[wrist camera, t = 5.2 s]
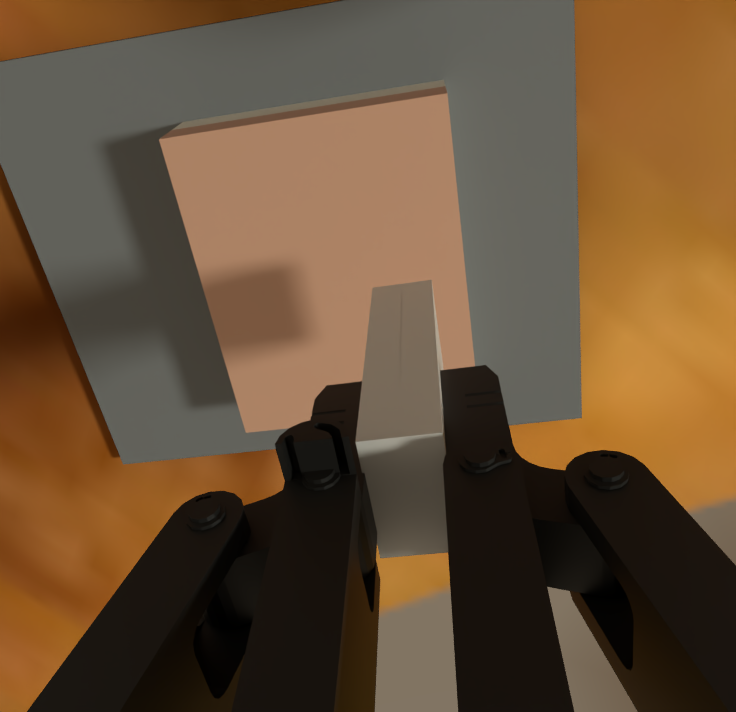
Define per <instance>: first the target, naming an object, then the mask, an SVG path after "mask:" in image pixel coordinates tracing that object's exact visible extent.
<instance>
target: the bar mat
mask: <svg viewBox="0 0 736 712" xmlns="http://www.w3.org/2000/svg"><path fill="white" fill-rule="evenodd" d="M439 80H444V83H445V86H446V90H447V94H448V104H449V114H450V123H451V133H452V143H453V153H454V163H455V173H456V183H457V193H458V203H459V212H460V222H461V232H462V242H463V252H464V262H465V272H466V282H467V292H468V301H469V311H470V321H471V331H472V341H473V351H474V361H475V366H481V365H486V366H487V367H489V368H490V369H491V370H492V371H493V372H494V373H495V374H496V375H497V376H498V378H499V383H500V387H501V393H502V397H503V401H504V406H505V410H506V415H507V420H508V424H509V425H517V424H527V423H537V422H546V421H556V420H566V419H576V418H582V408H581V353H580V298H579V243H578V188H577V133H576V78H575V23H574V0H341V1H335V2H330V3H324V4H318V5H313V6H307V7H302V8H296V9H290V10H285V11H279V12H274V13H268V14H262V15H257V16H251V17H246V18H240V19H234V20H229V21H223V22H218V23H212V24H207V25H201V26H195V27H190V28H184V29H179V30H173V31H167V32H162V33H156V34H151V35H145V36H139V37H134V38H128V39H123V40H117V41H111V42H106V43H100V44H95V45H89V46H84V47H78V48H72V49H67V50H61V51H56V52H50V53H44V54H39V55H33V56H28V57H22V58H16V59H11V60H5V61H0V164H1V166H2V169H3V171H4V174H5V176H6V178H7V181H8V183H9V186H10V188H11V191H12V193H13V196H14V198H15V200H16V203H17V205H18V208H19V210H20V213H21V215H22V218H23V220H24V222H25V225H26V227H27V230H28V232H29V235H30V237H31V240H32V242H33V244H34V247H35V249H36V252H37V254H38V257H39V259H40V262H41V264H42V267H43V269H44V271H45V274H46V276H47V279H48V281H49V284H50V286H51V289H52V291H53V293H54V296H55V298H56V301H57V303H58V306H59V308H60V311H61V313H62V315H63V318H64V320H65V323H66V325H67V328H68V330H69V333H70V335H71V337H72V340H73V342H74V345H75V347H76V350H77V352H78V355H79V357H80V360H81V362H82V364H83V367H84V369H85V372H86V374H87V377H88V379H89V382H90V384H91V386H92V389H93V391H94V394H95V396H96V399H97V401H98V404H99V406H100V408H101V411H102V413H103V416H104V418H105V421H106V423H107V426H108V428H109V430H110V433H111V435H112V438H113V440H114V443H115V445H116V448H117V450H118V452H119V455H120V457H121V460H122V462H123V464H131V463H141V462H151V461H161V460H171V459H180V458H190V457H200V456H210V455H220V454H230V453H240V452H250V451H260V450H269V449H276V447H275V443H276V441H277V440H278V438H279V436H280V435H281V434H283V433H284V432H285V431H286V430H287V429H289V428H287V429H278V430H268V431H259V432H249V433H246V432H245V428H244V425H243V421H242V418H241V415H240V411H239V408H238V405H237V401H236V398H235V394H234V391H233V388H232V384H231V381H230V378H229V374H228V371H227V368H226V364H225V361H224V357H223V354H222V351H221V347H220V344H219V341H218V337H217V334H216V330H215V327H214V324H213V320H212V317H211V314H210V310H209V307H208V303H207V300H206V297H205V293H204V290H203V287H202V283H201V280H200V276H199V273H198V270H197V266H196V263H195V260H194V256H193V253H192V249H191V246H190V243H189V239H188V236H187V233H186V229H185V226H184V222H183V219H182V216H181V212H180V209H179V206H178V202H177V199H176V195H175V192H174V189H173V185H172V182H171V179H170V175H169V172H168V169H167V165H166V162H165V158H164V155H163V152H162V148H161V145H160V142H159V139H160V138H161V137H163V136H164V135H166V134H167V133H168V132H170V131H171V130H173V129H174V128H175V127H177V126H178V125H180V124H181V123H182V122H186V121H192V120H198V119H205V118H211V117H217V116H223V115H229V114H236V113H242V112H248V111H254V110H260V109H266V108H273V107H279V106H285V105H291V104H297V103H303V102H310V101H316V100H322V99H328V98H334V97H341V96H347V95H353V94H359V93H365V92H371V91H378V90H384V89H390V88H396V87H402V86H408V85H415V84H421V83H427V82H433V81H439Z"/></svg>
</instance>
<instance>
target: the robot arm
mask: <svg viewBox="0 0 736 712" xmlns="http://www.w3.org/2000/svg"><path fill="white" fill-rule="evenodd" d="M275 447H276V451H277V455H278V458H279V462H280V465H281V469H282V472H283V476H284V479H285V484H284V488H283V490H282V491H280V492H279V493H277V494H275V495H273V496H271V497H268V498H266V499H263V500H260V501H257V502H254V503H251V504H248V505H245V506H243V503H242V500H241V499H240V498H239V497H238V496H236V495H235V494H234V493H230V492H226V491H215V492H208V493H205V494H202V495H199V496H196V497H194V498H192V499H191V500H189V501H187V502H185V503H184V504H183V505H181V506H180V507H179V508H178V509H177V510H176V511H175V512H174V514H173V515H172V516H171V518H170V519H169V520H168V522H167V523H166V524H165V526H164V527H163V528H162V530H161V531H160V532H159V534H158V535H157V537H156V538H155V539H154V541H153V542H152V543H151V545H150V546H149V547H148V549H147V550H146V551H145V553H144V554H143V555H142V557H141V558H140V559H139V561H138V562H137V564H136V565H135V566H134V568H133V569H132V570H131V572H130V573H129V574H128V576H127V577H126V578H125V580H124V581H123V582H122V584H121V585H120V587H119V588H118V589H117V591H116V592H115V593H114V595H113V596H112V597H111V599H110V600H109V601H108V603H107V604H106V605H105V607H104V608H103V610H102V611H101V612H100V614H99V615H98V616H97V618H96V619H95V620H94V622H93V623H92V624H91V626H90V627H89V628H88V630H87V631H86V633H85V634H84V635H83V637H82V638H81V639H80V641H79V642H78V643H77V645H76V646H75V647H74V649H73V650H72V651H71V653H70V654H69V656H68V657H67V658H66V660H65V661H64V662H63V664H62V665H61V666H60V668H59V669H58V670H57V672H56V673H55V674H54V676H53V677H52V679H51V680H50V681H49V683H48V684H47V685H46V687H45V688H44V689H43V691H42V692H41V693H40V695H39V696H38V697H37V699H36V700H35V702H34V703H33V704H32V706H31V707H30V708H29V710H28V711H27V712H375V690H376V667H377V643H378V620H379V596H380V577H379V572H378V567H377V563H376V548H377V545H378V549H379V554H380V558H388V557H399V556H411V555H423V554H434V553H446V552H448V555H449V571H450V587H451V602H452V618H453V634H454V650H455V666H456V681H457V698H458V712H574V709H573V704H572V699H571V695H570V690H569V685H568V681H567V676H566V672H565V667H564V662H563V658H562V653H561V649H560V644H559V640H558V635H557V630H556V626H555V621H554V617H553V612H552V607H551V603H550V598H549V594H548V589H547V587H552V588H557V589H563V590H568V591H570V593H571V596H572V600H573V601H574V603H575V605H576V606H577V608H578V610H579V612H580V613H581V615H582V617H583V619H584V620H585V622H586V624H587V625H588V627H589V629H590V631H591V632H592V634H593V636H594V637H595V639H596V641H597V643H598V644H599V646H600V648H601V649H602V651H603V653H604V655H605V656H606V658H607V660H608V661H609V663H610V665H611V666H612V668H613V670H614V672H615V673H616V675H617V677H618V679H619V680H620V682H621V684H622V685H623V687H624V689H625V691H626V692H627V694H628V696H629V697H630V699H631V701H632V702H633V704H634V706H635V708H636V709H637V711H638V712H736V565H735V564H734V563H733V562H732V561H731V560H730V559H729V558H728V557H727V555H726V554H725V553H724V552H723V551H722V550H721V549H720V548H719V547H718V545H717V544H716V543H715V542H714V541H713V540H712V539H711V538H710V537H709V536H708V534H707V533H706V532H705V531H704V530H703V529H702V528H701V527H700V526H699V525H698V523H697V522H696V521H695V520H694V519H693V518H692V517H691V516H690V515H689V513H688V512H687V511H686V510H685V509H684V508H683V507H682V506H681V505H680V504H679V502H678V501H677V500H676V499H675V498H674V497H673V496H672V495H671V494H670V493H669V491H668V490H667V489H666V488H665V487H664V486H663V485H662V484H661V483H660V481H659V480H658V479H657V478H656V477H655V476H654V475H653V474H652V473H651V472H650V470H649V469H648V468H647V467H646V466H645V465H644V464H643V463H641V462H640V461H638V460H637V459H636V458H634V457H632V456H630V455H627V454H624V453H621V452H617V451H607V450H600V451H592V452H587V453H584V454H582V455H580V456H577V457H575V458H574V459H573V460H572V461H571V462H570V463H569V464H568V465H567V467H566V470H556V469H549V468H544V467H539V466H537V465H534V464H532V463H529V462H528V461H526V460H525V459H523V458H521V457H520V455H519V454H518V453H517V452H516V451H515V448H514V446H513V443H512V438H511V434H510V429H509V424H508V420H507V415H506V410H505V406H504V401H503V397H502V393H501V387H500V383H499V378H498V376H497V375H496V374H495V373H494V372H493V371H492V370H491V369H490V368H489V367H487V366H486V365H481V366H473V367H464V368H456V369H447V370H444V368H443V361H442V353H441V346H440V338H439V331H438V324H437V316H436V309H435V301H434V294H433V286H432V280H426V281H418V282H411V283H404V284H396V285H389V286H381V287H374V288H372V297H371V306H370V315H369V324H368V333H367V342H366V351H365V360H364V369H363V378H362V381H360V382H351V383H343V384H334V385H326V387H325V388H324V389H323V390H322V391H321V392H320V394H319V395H318V396H317V397H316V398H315V400H314V405H313V410H312V416H311V419H310V421H305V422H301V423H299V424H297V425H295V426H293V427H290V428H289V429H287V430H286V431H285V432H284V433H283V434H281V435H280V436H279V438H278V440H277V441H276V443H275Z"/></svg>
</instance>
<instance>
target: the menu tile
mask: <svg viewBox="0 0 736 712" xmlns="http://www.w3.org/2000/svg"><path fill="white" fill-rule="evenodd" d="M159 142H160V145H161V148H162V152H163V155H164V158H165V162H166V165H167V169H168V172H169V175H170V179H171V182H172V185H173V189H174V192H175V195H176V199H177V202H178V206H179V209H180V212H181V216H182V219H183V222H184V226H185V229H186V233H187V236H188V239H189V243H190V246H191V249H192V253H193V256H194V260H195V263H196V266H197V270H198V273H199V276H200V280H201V283H202V287H203V290H204V293H205V297H206V300H207V303H208V307H209V310H210V314H211V317H212V320H213V324H214V327H215V330H216V334H217V337H218V341H219V344H220V347H221V351H222V354H223V357H224V361H225V364H226V368H227V371H228V374H229V378H230V381H231V384H232V388H233V391H234V394H235V398H236V401H237V405H238V408H239V411H240V415H241V418H242V421H243V425H244V428H245V432H246V433H249V432H259V431H268V430H278V429H287V428H290V427H293V426H295V425H297V424H299V423H301V422H305V421H310V419H311V416H312V410H313V405H314V400H315V398H316V397H317V396H318V395H319V394H320V392H321V391H322V390H323V389H324V388H325V387H326V385H334V384H343V383H351V382H360V381H362V378H363V369H364V360H365V351H366V342H367V333H368V324H369V315H370V306H371V297H372V288H374V287H381V286H389V285H396V284H404V283H411V282H418V281H426V280H432V286H433V294H434V301H435V309H436V316H437V324H438V331H439V338H440V346H441V353H442V361H443V368H444V370H447V369H456V368H464V367H473V366H475V361H474V351H473V341H472V331H471V321H470V311H469V301H468V292H467V282H466V272H465V262H464V252H463V242H462V232H461V222H460V212H459V203H458V193H457V183H456V173H455V163H454V153H453V143H452V133H451V123H450V114H449V104H448V94H447V90H446V86H445V83H444V80H439V81H433V82H427V83H421V84H415V85H408V86H402V87H396V88H390V89H384V90H378V91H371V92H365V93H359V94H353V95H347V96H341V97H334V98H328V99H322V100H316V101H310V102H303V103H297V104H291V105H285V106H279V107H273V108H266V109H260V110H254V111H248V112H242V113H236V114H229V115H223V116H217V117H211V118H205V119H198V120H192V121H186V122H182V123H181V124H180V125H178V126H177V127H175V128H174V129H173V130H171V131H170V132H168V133H167V134H166V135H164V136H163V137H161V138H160V139H159Z"/></svg>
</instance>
